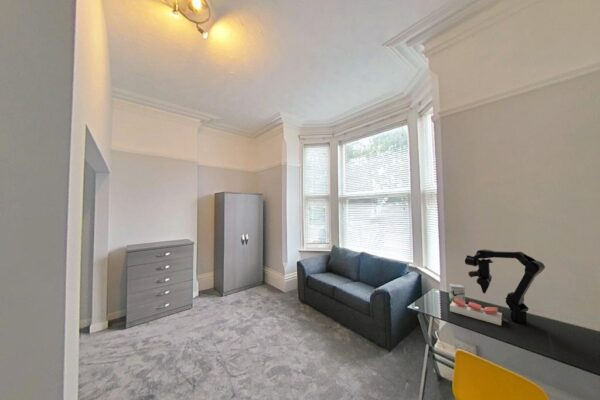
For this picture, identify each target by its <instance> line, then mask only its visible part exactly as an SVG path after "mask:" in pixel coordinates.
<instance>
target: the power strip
mask: <svg viewBox="0 0 600 400" xmlns="http://www.w3.org/2000/svg"><path fill="white" fill-rule="evenodd" d="M449 312H452V313H456V314H458V315H463V316H466V317H470V318H473V319H475V320H480V321H484V322H487V323H491V324H494V325H498V326H502V323H503V322H507V323H509V320H508V319H506V318H503V315H502V314H503V313H502V312H499V311H498V313H485V312H484V308H483V307H481V309H480V311H479V310H476V309H473V308H470V307H468V304H465V306H464V307H462V306H460V305H458V304H456V303H454V302H453V301H452V302H451V303H450V304H449Z"/></svg>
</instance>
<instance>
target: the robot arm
mask: <svg viewBox="0 0 600 400" xmlns="http://www.w3.org/2000/svg"><path fill="white" fill-rule="evenodd" d="M491 258H492V259H493V258H500V259H504V258H505V259H515V260H516V259H517V260H518V262H519V263H520V264H521V265H523V266H524V274H523V276H522V277H521V279H520V281H519V283H518V285H517V287H516V288H515V291H514V292H513V291H512V292H509V293H507V294H506V295H507V296H506V297H505V298H504V299H505V303H506V305H507V306H508V308H509V310H510V319H511V321H512V322H514V323H518V324H521V325H525V326H528V317H527V312H528V311H529V307H528V306H527V305H526V304H525V295H526V293H527V292H528V290H529V288H530V287H531V284H532V283H533V281H534V280H535V278H536V277H538V276H539V274H541V273H542V272H543V271H544V270H545V267H546V266H545V264H544V263H543V262H541V261H539V260H536V259H535V258H534V257H531V256H529V255H527V254H525V253H524V252H522V251H498V250H497V251H496V250H495V251H494V250H492V249H485V248H484V249H478V250H477V251H476V254H475V255H474V256H473V255H469V254H468V255H467V254H466V257H465V259H464V264H465V265H468V266H471V267H478V269H477V270H472V271H471V270H470V271H468V276H469V277H470V278H473V277H475V278H476V277H477V278H476V283H477V284H478V285H479V286H480V288H481V292H482V294H486V293H487V291H488V289H489V287H490V285H491V282H492V276H493V275H492V274H490V272H491V270H490V264H493V263H494V261H493V260H492V259H491Z"/></svg>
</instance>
